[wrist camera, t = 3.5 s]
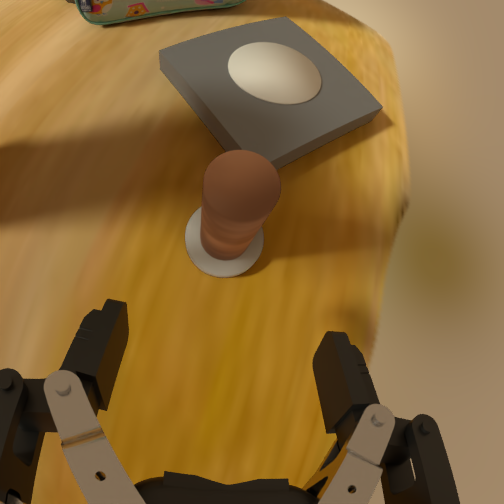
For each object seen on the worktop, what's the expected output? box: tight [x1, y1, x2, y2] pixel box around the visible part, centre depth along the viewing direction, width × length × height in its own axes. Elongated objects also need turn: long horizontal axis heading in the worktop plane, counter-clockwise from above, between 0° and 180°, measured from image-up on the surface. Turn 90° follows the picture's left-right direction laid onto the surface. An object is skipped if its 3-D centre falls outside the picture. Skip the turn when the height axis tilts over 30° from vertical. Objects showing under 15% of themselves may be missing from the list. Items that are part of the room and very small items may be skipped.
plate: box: [159, 17, 383, 170], centre depth 29 cm, size 18×18×3 cm
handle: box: [185, 150, 281, 278], centre depth 21 cm, size 6×6×11 cm
